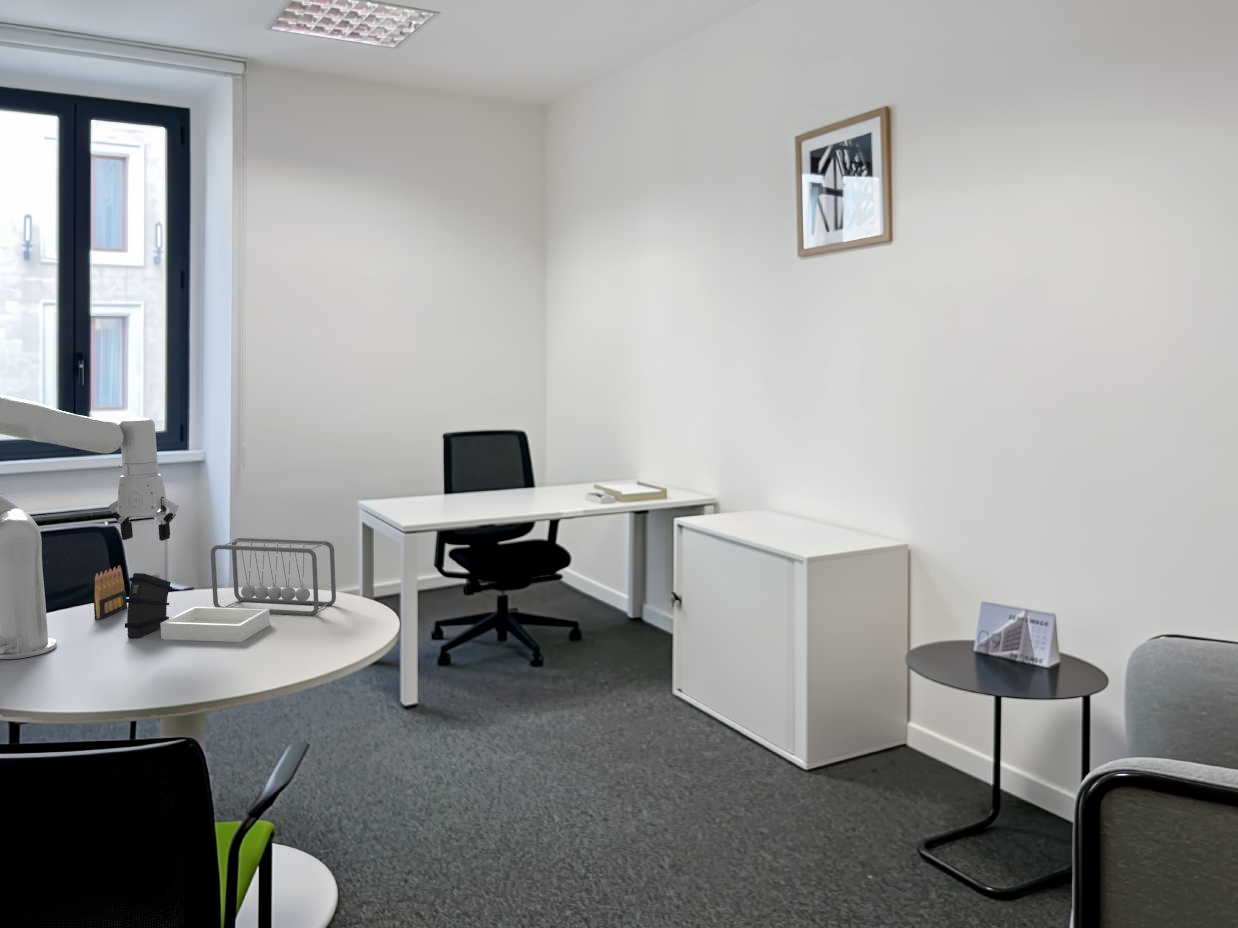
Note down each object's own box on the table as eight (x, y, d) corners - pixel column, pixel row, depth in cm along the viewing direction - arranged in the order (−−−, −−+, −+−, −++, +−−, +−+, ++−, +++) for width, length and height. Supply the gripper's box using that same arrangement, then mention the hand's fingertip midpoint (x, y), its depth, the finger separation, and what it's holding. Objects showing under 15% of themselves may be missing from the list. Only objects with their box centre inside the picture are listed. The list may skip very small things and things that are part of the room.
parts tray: (240, 642, 214) (240, 625, 214) (161, 639, 217) (160, 622, 216) (270, 624, 228) (269, 609, 228) (195, 621, 230) (194, 606, 230)
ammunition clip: (101, 619, 232) (97, 574, 231) (94, 619, 233) (91, 573, 231) (127, 608, 243) (124, 564, 241) (121, 608, 243) (118, 564, 242)
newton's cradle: (337, 605, 246) (334, 541, 243) (317, 616, 235) (314, 549, 233) (236, 600, 251) (232, 537, 249) (212, 610, 241) (209, 545, 239)
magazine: (116, 635, 214) (130, 572, 219) (150, 642, 227) (164, 583, 231) (130, 635, 214) (145, 573, 218) (164, 643, 226) (177, 583, 231)
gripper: (96, 471, 216) (102, 541, 218) (164, 471, 214) (170, 543, 216) (117, 467, 224) (123, 535, 226) (183, 467, 222) (188, 536, 224)
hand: (146, 539), depth 221 cm, fingers open, 9 cm apart
